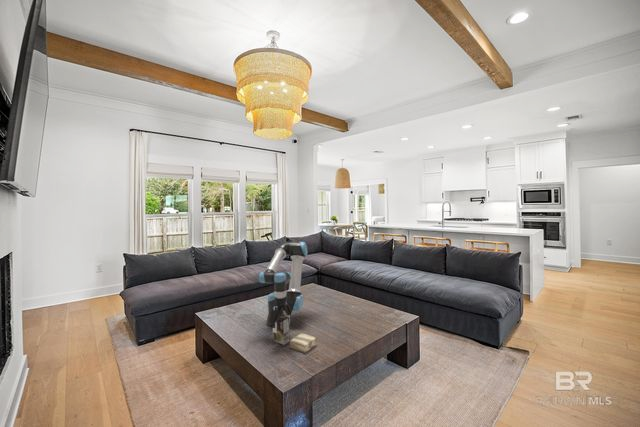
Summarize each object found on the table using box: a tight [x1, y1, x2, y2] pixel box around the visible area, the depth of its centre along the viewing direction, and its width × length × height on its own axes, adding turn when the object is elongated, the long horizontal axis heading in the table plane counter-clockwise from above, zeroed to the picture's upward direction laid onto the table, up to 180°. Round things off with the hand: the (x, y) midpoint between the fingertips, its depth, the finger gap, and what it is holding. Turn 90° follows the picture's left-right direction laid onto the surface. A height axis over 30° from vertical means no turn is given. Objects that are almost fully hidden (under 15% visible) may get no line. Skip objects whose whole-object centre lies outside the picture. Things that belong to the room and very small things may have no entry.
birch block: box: [289, 332, 317, 354], centre depth 182 cm, size 12×12×5 cm
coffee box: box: [273, 315, 291, 346], centre depth 188 cm, size 9×6×16 cm
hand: (281, 328), depth 188 cm, fingers open, 13 cm apart
